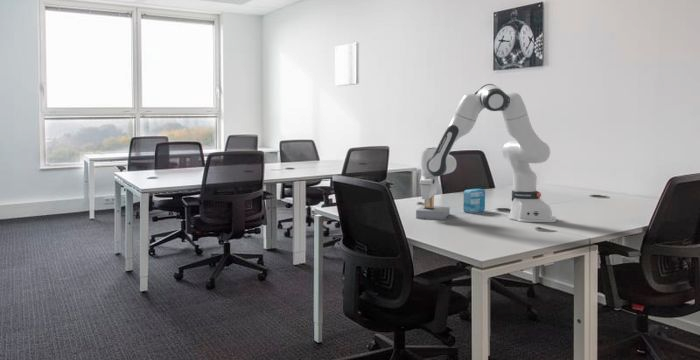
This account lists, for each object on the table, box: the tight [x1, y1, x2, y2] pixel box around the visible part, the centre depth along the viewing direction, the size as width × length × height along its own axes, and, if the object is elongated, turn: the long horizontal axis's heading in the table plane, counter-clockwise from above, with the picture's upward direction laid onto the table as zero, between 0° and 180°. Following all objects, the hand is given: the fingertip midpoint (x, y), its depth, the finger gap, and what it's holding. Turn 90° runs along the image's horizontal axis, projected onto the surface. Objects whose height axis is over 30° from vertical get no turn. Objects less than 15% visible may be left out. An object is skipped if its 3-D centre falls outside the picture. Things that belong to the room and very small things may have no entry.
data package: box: [462, 188, 486, 214], centre depth 282 cm, size 12×4×12 cm, turn 124°
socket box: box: [415, 204, 451, 221], centre depth 271 cm, size 14×16×4 cm
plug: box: [424, 195, 435, 209], centre depth 271 cm, size 4×4×8 cm
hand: (429, 205), depth 271 cm, fingers closed on plug, 4 cm apart
